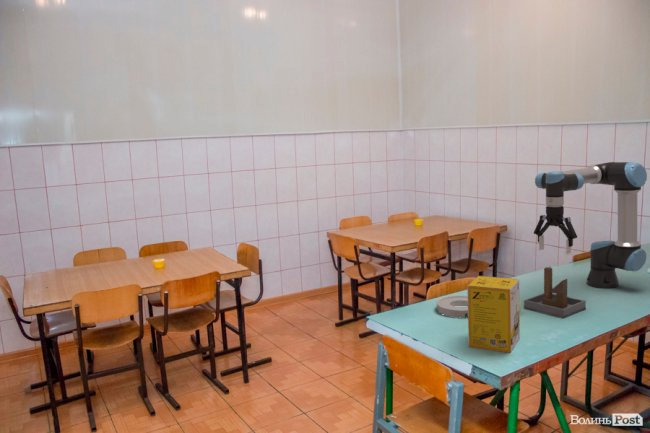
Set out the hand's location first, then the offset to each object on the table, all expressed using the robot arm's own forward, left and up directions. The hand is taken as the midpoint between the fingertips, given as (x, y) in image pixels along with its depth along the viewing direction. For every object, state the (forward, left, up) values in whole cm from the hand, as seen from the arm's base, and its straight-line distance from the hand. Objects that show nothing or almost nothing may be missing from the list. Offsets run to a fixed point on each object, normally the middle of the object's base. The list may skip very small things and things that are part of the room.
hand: (554, 251), depth 253 cm
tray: (0, 0, -27) cm, 27 cm away
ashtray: (+31, -29, -28) cm, 51 cm away
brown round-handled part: (0, 0, -27) cm, 27 cm away
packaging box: (+53, +7, -28) cm, 60 cm away
